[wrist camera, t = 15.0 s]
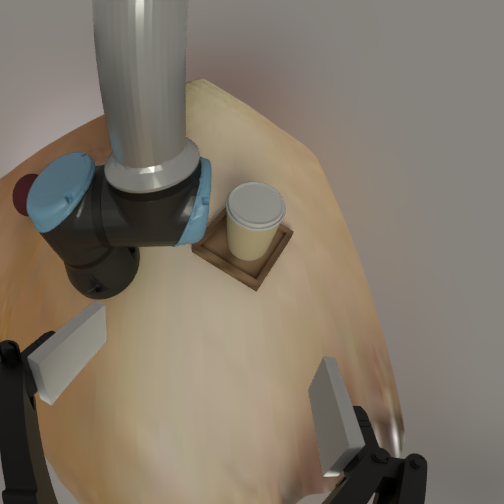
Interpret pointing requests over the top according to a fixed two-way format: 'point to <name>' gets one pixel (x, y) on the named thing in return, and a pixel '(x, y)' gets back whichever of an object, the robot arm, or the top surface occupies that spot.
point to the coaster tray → (220, 256)
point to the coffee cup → (253, 219)
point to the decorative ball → (23, 193)
